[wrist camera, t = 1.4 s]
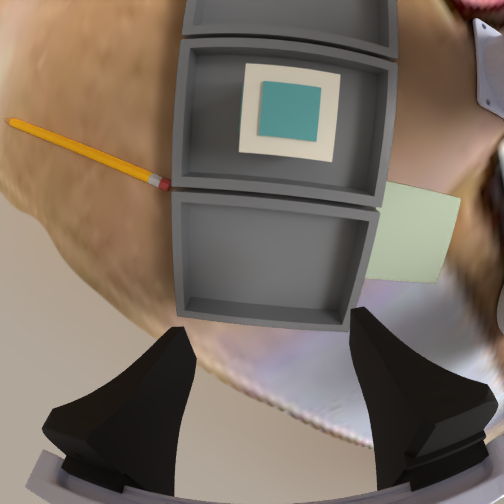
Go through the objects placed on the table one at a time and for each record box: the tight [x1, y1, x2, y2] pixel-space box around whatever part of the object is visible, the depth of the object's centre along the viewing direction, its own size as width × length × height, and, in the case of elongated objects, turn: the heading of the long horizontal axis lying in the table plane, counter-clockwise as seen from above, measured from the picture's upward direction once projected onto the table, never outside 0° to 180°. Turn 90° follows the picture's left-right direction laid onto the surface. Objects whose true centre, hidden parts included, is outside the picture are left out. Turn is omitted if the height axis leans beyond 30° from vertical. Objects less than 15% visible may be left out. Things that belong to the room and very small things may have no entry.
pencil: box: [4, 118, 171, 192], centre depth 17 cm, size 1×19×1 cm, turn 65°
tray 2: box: [171, 38, 398, 208], centre depth 15 cm, size 12×9×2 cm
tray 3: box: [171, 187, 380, 332], centre depth 18 cm, size 12×9×2 cm
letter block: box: [239, 63, 340, 162], centre depth 13 cm, size 4×4×5 cm
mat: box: [365, 181, 461, 284], centre depth 18 cm, size 7×7×1 cm
